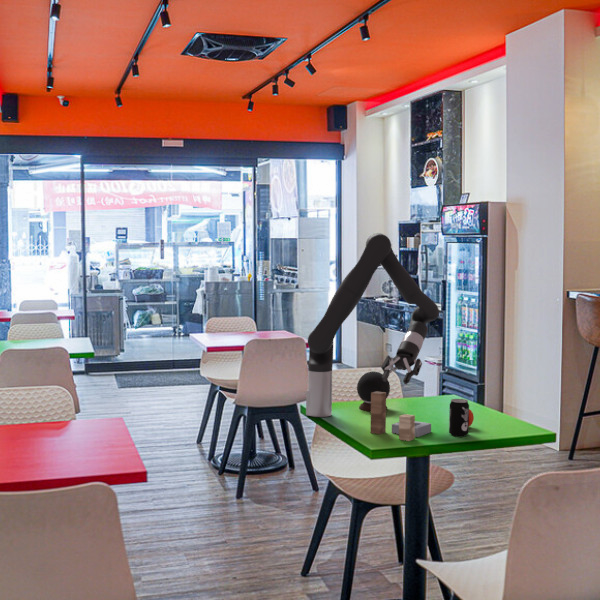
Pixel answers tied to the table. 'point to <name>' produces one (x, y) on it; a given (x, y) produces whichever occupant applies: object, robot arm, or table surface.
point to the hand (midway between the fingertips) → (394, 381)
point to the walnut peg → (378, 412)
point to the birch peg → (406, 427)
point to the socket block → (420, 428)
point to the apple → (470, 417)
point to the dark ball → (371, 388)
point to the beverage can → (459, 417)
